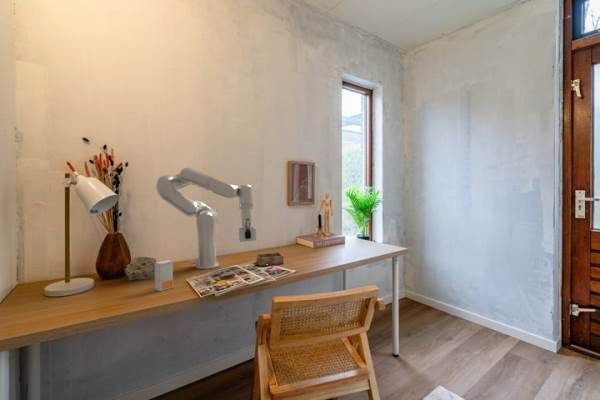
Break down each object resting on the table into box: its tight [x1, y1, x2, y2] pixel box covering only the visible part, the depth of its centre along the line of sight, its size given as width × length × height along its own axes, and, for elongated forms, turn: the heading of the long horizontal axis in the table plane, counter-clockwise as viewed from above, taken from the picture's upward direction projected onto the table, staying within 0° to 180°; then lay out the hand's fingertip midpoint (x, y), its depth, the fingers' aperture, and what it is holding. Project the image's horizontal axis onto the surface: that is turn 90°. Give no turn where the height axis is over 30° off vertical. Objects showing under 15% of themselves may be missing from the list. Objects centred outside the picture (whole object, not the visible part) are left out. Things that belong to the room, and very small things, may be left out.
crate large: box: [256, 252, 284, 266], centre depth 161 cm, size 14×10×4 cm
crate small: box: [238, 226, 257, 243], centre depth 157 cm, size 9×6×7 cm
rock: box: [124, 256, 157, 281], centre depth 140 cm, size 21×14×10 cm
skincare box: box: [154, 259, 174, 292], centre depth 120 cm, size 6×4×12 cm
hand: (247, 237), depth 157 cm, fingers closed on crate small, 6 cm apart
